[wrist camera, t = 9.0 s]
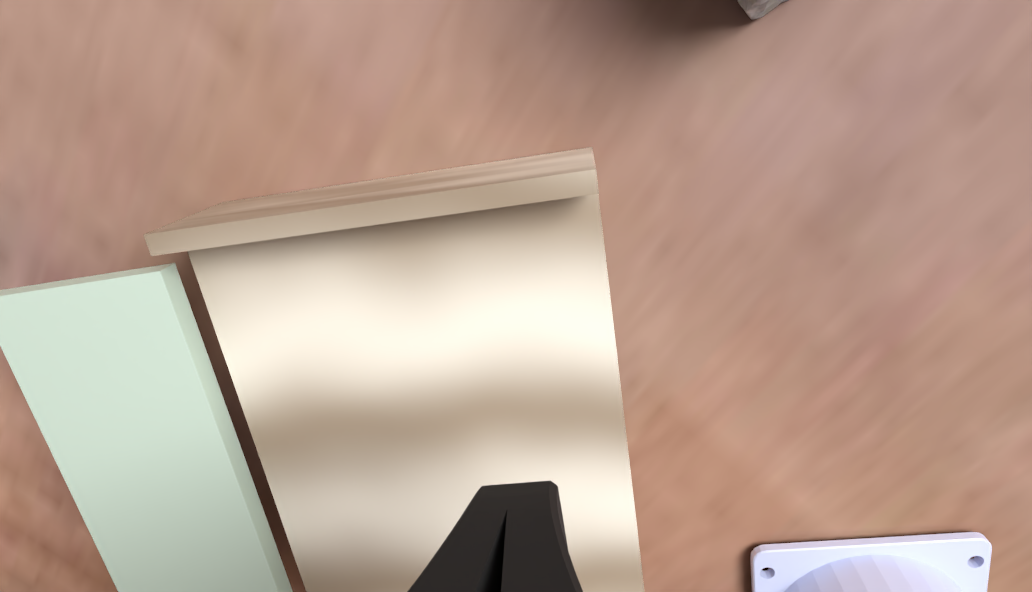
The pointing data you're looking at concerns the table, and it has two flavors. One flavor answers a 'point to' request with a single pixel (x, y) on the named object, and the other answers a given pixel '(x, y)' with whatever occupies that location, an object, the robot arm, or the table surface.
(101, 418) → the panel
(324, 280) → the cart bed
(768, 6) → the mineral specimen
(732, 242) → the table surface
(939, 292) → the table surface
